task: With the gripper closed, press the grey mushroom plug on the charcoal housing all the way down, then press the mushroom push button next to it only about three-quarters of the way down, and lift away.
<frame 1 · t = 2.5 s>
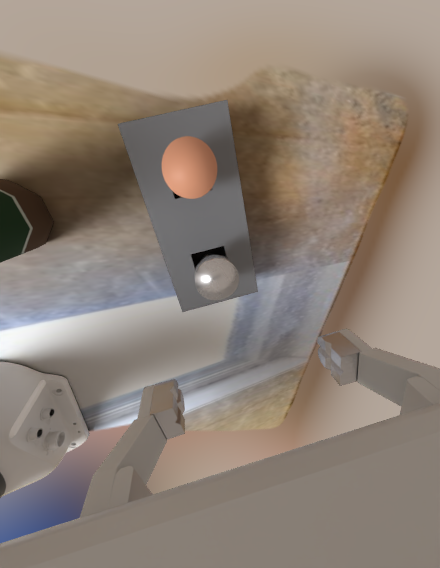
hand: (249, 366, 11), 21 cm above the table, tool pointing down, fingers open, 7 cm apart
beer bottle: (19, 216, 25), on the table
mushroom push button: (189, 172, 20), point 7 cm above the table, slide at 0.0 cm
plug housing: (198, 218, 28), on the table
grey mushroom plug: (213, 270, 24), point 7 cm above the table, slide at 0.0 cm
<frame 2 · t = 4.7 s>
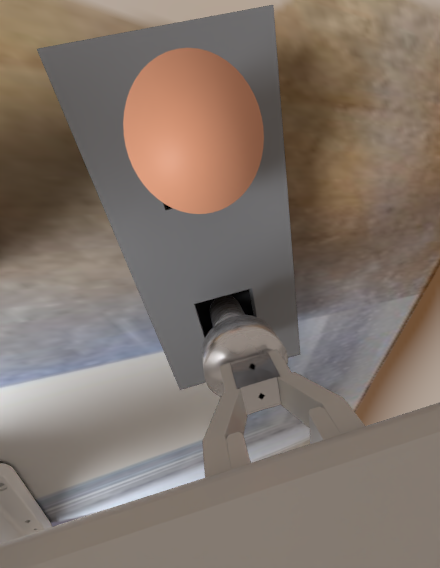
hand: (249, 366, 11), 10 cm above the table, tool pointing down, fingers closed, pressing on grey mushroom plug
mushroom push button: (192, 156, 10), point 7 cm above the table, slide at 0.0 cm
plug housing: (204, 237, 18), on the table
grey mushroom plug: (233, 333, 14), point 6 cm above the table, slide at 0.1 cm, touching gripper
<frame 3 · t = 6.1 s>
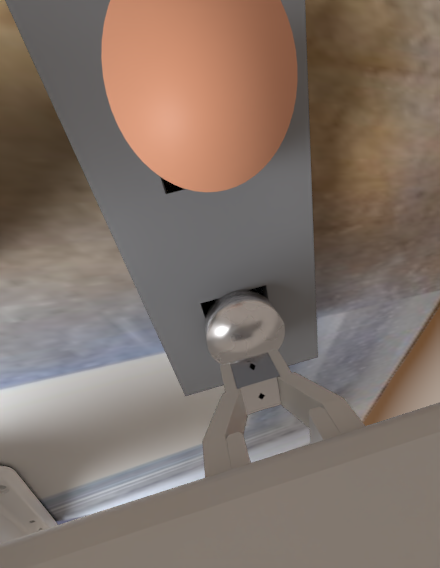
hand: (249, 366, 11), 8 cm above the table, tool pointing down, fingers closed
mushroom push button: (198, 122, 8), point 7 cm above the table, slide at 0.0 cm
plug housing: (211, 228, 16), on the table
grey mushroom plug: (235, 310, 15), point 4 cm above the table, slide at 2.9 cm
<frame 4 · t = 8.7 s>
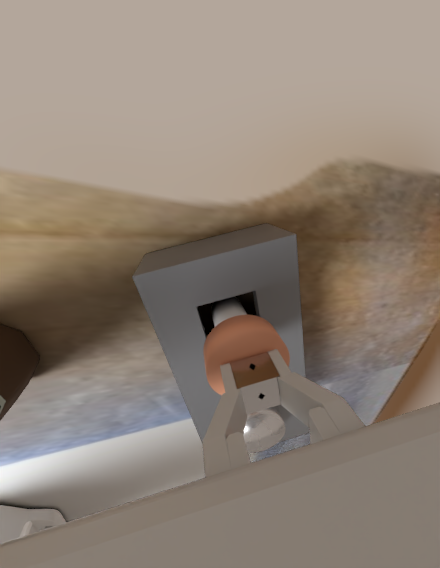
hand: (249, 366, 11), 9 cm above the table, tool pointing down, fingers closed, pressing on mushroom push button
mushroom push button: (235, 332, 14), point 6 cm above the table, slide at 0.5 cm, touching gripper
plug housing: (230, 336, 21), on the table
grey mushroom plug: (248, 401, 20), point 4 cm above the table, slide at 2.9 cm
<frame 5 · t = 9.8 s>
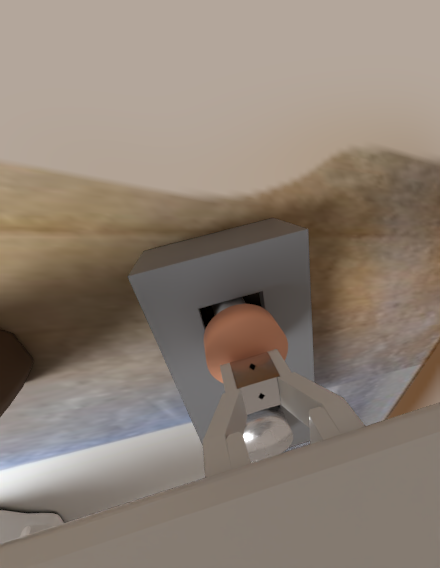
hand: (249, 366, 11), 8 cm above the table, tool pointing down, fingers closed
mushroom push button: (235, 322, 14), point 5 cm above the table, slide at 2.0 cm
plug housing: (234, 338, 20), on the table
grey mushroom plug: (253, 407, 19), point 4 cm above the table, slide at 2.9 cm
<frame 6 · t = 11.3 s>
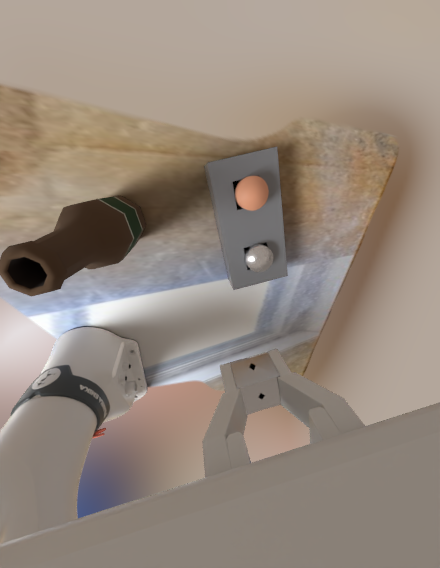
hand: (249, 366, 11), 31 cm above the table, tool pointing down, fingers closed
beer bottle: (122, 220, 35), on the table
mushroom push button: (247, 193, 32), point 5 cm above the table, slide at 2.0 cm
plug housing: (244, 222, 38), on the table
grey mushroom plug: (254, 254, 37), point 4 cm above the table, slide at 2.9 cm
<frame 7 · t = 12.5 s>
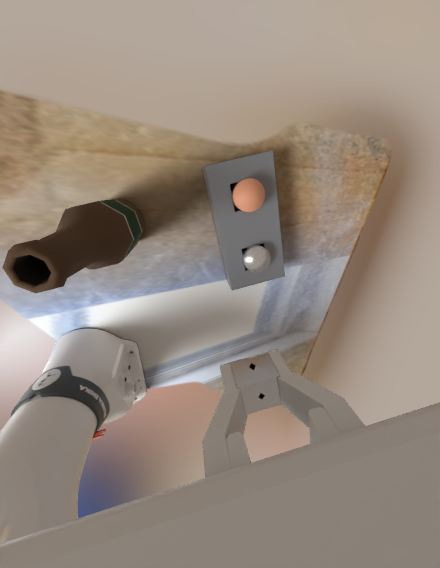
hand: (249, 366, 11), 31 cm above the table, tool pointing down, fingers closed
beer bottle: (122, 222, 36), on the table
mushroom push button: (244, 195, 33), point 5 cm above the table, slide at 2.0 cm
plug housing: (242, 223, 39), on the table
grey mushroom plug: (252, 255, 38), point 4 cm above the table, slide at 2.9 cm
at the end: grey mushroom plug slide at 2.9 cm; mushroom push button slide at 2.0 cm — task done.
